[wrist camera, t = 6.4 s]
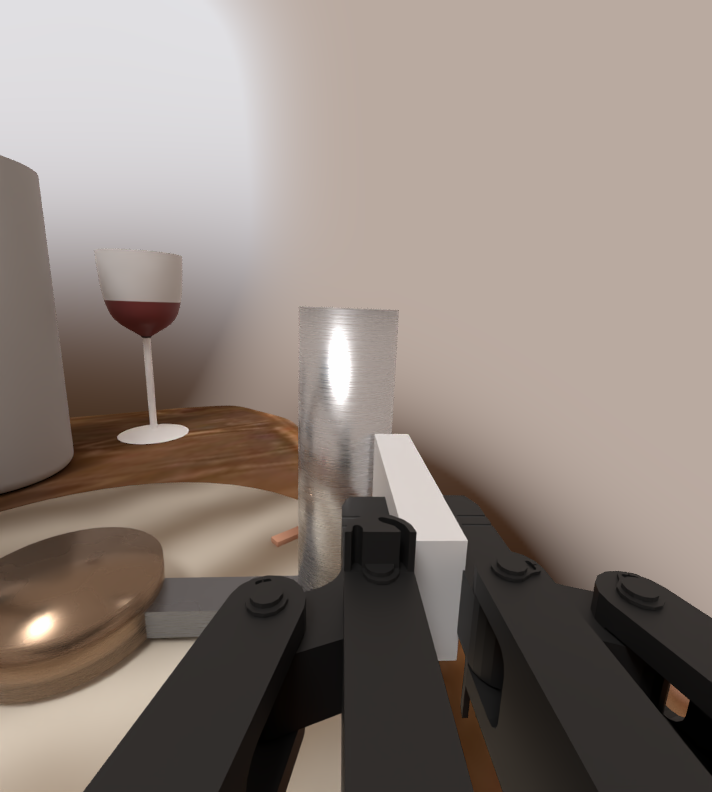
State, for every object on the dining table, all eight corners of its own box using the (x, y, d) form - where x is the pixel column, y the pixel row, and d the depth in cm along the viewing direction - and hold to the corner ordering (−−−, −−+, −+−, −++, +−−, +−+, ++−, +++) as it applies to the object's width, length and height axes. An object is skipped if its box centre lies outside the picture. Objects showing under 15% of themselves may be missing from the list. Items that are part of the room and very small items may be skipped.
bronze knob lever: (-110, 708, 13) (-228, 289, 10) (41, 567, 20) (-2, 295, 17) (393, 687, 14) (420, 311, 11) (371, 562, 21) (384, 309, 18)
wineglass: (144, 450, 41) (126, 247, 37) (98, 434, 46) (77, 250, 41) (207, 431, 48) (198, 257, 44) (162, 419, 52) (150, 259, 48)
